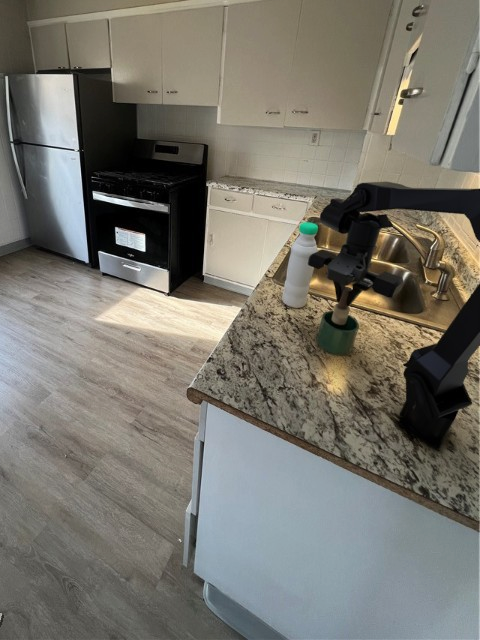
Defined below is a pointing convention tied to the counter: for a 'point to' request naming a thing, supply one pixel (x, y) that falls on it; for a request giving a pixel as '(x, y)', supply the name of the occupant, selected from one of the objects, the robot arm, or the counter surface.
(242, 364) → the counter surface
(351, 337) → the green plastic cup
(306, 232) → the water bottle
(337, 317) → the brush
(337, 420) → the counter surface
